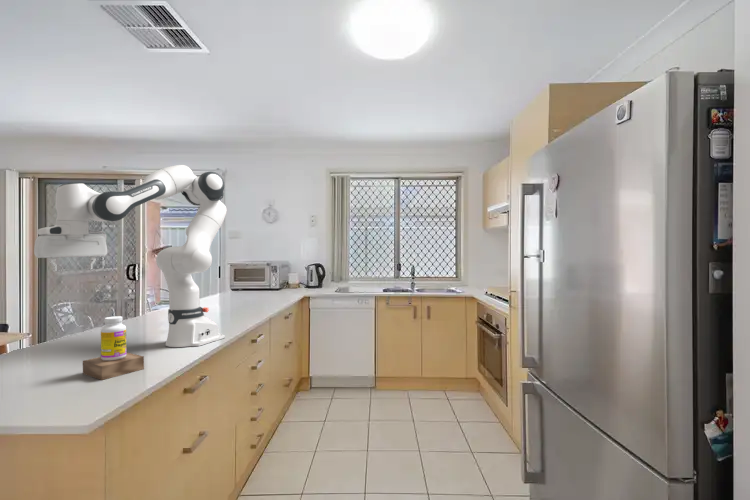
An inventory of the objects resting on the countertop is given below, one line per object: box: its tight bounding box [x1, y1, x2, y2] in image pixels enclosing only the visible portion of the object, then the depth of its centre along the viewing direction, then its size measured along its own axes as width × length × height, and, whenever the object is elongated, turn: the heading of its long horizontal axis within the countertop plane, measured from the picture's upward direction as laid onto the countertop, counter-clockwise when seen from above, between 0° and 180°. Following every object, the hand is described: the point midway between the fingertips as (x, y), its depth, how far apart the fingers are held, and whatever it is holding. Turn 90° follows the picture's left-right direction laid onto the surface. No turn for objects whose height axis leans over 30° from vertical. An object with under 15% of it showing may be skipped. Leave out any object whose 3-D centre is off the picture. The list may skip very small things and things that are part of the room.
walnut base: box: [82, 351, 145, 381], centre depth 123 cm, size 12×12×4 cm
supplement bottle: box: [100, 315, 127, 361], centre depth 123 cm, size 7×7×13 cm
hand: (73, 270), depth 135 cm, fingers open, 8 cm apart
